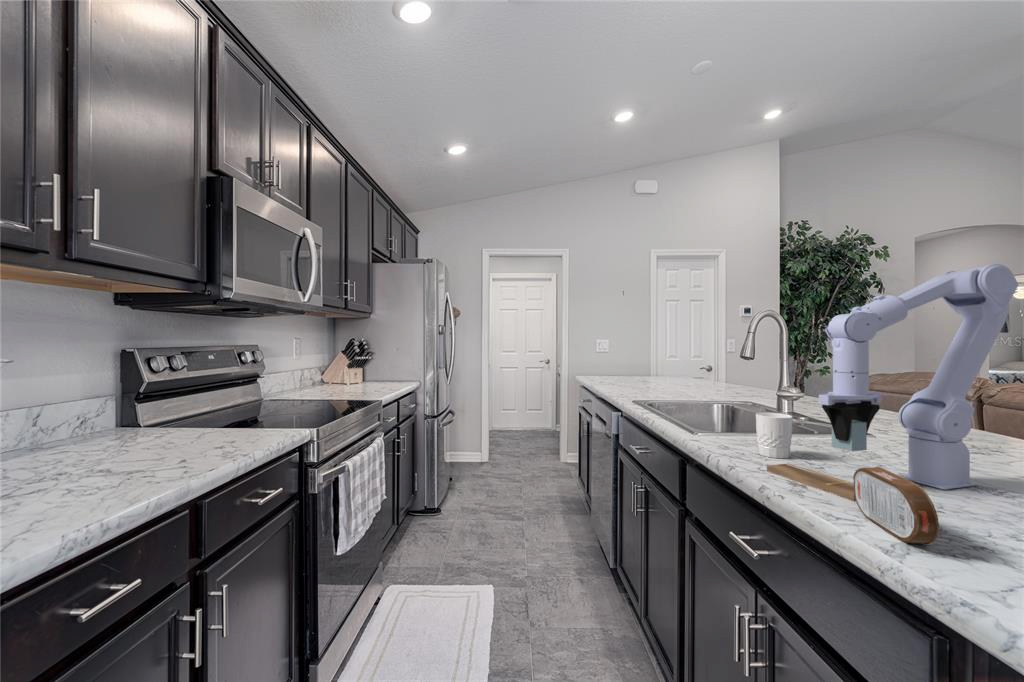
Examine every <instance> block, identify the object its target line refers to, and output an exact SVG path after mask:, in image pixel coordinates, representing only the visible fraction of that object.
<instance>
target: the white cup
mask: <svg viewBox="0 0 1024 682" xmlns="http://www.w3.org/2000/svg"><path fill="white" fill-rule="evenodd" d="M793 421H794V416H792V415H790V414H788V413H787V414H785V413H780V412H779V413H778V412H756V413H755V429H756V430H755V431H756V441H757V453H758V455H761V456H763V457H767V458H771V457H772V458H771V459H782V458H783V459H788V458H790V457H791V445H792V437H793Z"/></svg>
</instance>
